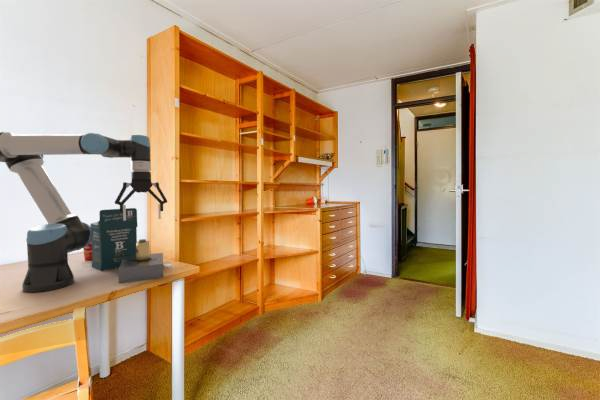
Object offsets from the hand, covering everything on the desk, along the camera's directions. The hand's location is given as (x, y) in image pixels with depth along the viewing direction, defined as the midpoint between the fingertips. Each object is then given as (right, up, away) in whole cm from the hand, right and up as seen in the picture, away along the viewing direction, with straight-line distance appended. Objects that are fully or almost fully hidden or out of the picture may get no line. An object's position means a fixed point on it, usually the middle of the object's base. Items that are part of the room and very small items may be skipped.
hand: (142, 219), depth 128 cm
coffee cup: (-41, -23, +25) cm, 53 cm away
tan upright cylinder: (0, -22, +1) cm, 22 cm away
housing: (0, -24, +1) cm, 24 cm away
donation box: (-22, -24, +15) cm, 36 cm away
